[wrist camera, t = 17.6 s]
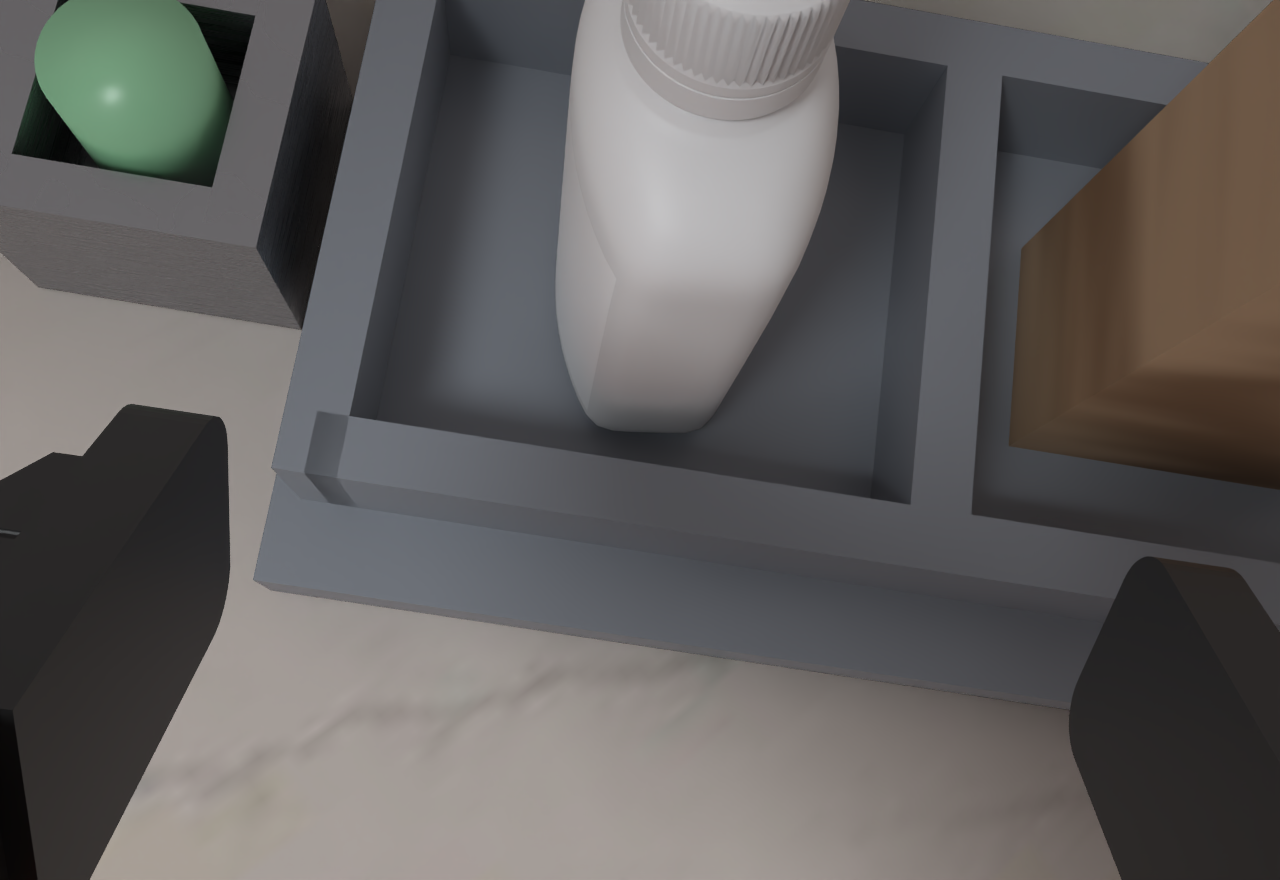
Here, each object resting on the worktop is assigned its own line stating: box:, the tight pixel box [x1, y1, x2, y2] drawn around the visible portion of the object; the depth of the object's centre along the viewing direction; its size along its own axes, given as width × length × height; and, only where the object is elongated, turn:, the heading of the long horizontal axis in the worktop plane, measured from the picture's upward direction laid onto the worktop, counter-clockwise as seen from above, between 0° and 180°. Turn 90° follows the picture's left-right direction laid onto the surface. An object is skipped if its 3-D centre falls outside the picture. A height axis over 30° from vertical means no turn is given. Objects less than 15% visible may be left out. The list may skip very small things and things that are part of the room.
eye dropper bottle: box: [555, 0, 850, 433], centre depth 16 cm, size 4×6×12 cm
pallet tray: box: [253, 0, 1280, 710], centre depth 22 cm, size 22×13×4 cm, turn 82°
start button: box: [34, 0, 234, 187], centre depth 20 cm, size 3×3×3 cm
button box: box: [0, 0, 353, 330], centre depth 22 cm, size 5×5×4 cm
